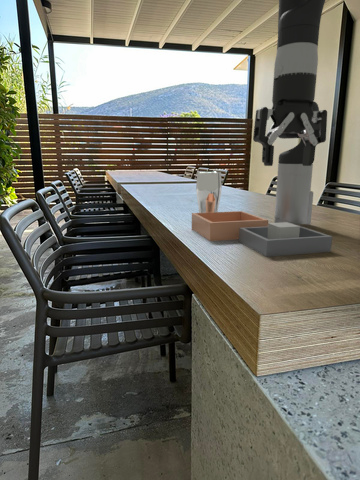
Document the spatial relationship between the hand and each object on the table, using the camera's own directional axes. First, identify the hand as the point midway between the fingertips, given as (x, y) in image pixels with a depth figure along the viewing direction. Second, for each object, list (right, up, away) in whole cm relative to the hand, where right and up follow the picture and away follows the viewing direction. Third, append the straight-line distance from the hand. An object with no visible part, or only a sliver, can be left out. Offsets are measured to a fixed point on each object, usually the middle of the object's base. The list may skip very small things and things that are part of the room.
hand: (287, 165), depth 65 cm
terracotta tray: (-9, -14, +17) cm, 24 cm away
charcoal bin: (0, -17, +4) cm, 17 cm away
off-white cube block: (0, -16, +4) cm, 16 cm away
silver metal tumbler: (-13, -11, +30) cm, 34 cm away
